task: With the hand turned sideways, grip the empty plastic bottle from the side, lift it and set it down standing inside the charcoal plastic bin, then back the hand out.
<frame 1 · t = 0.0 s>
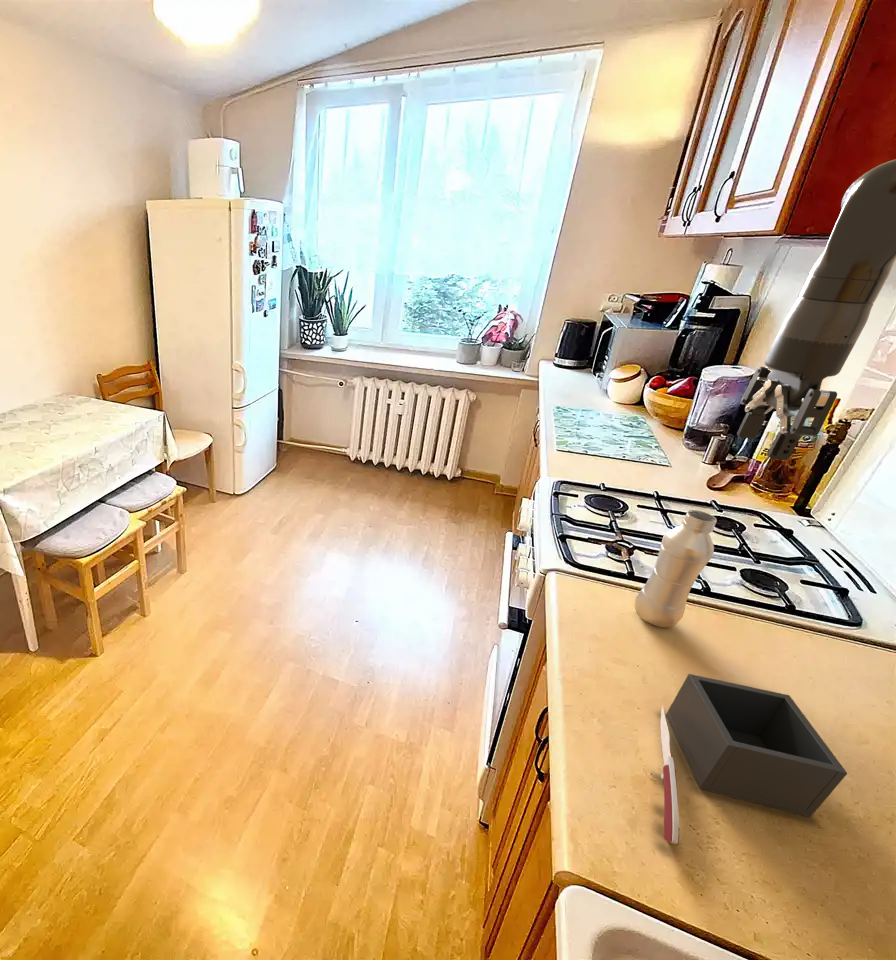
hand: (760, 447, 76), 30 cm above the worktop, tool pointing down, fingers open, 8 cm apart
plastic bottle: (652, 619, 87), on the worktop
bin: (731, 761, 64), on the worktop
knife: (661, 775, 62), on the worktop
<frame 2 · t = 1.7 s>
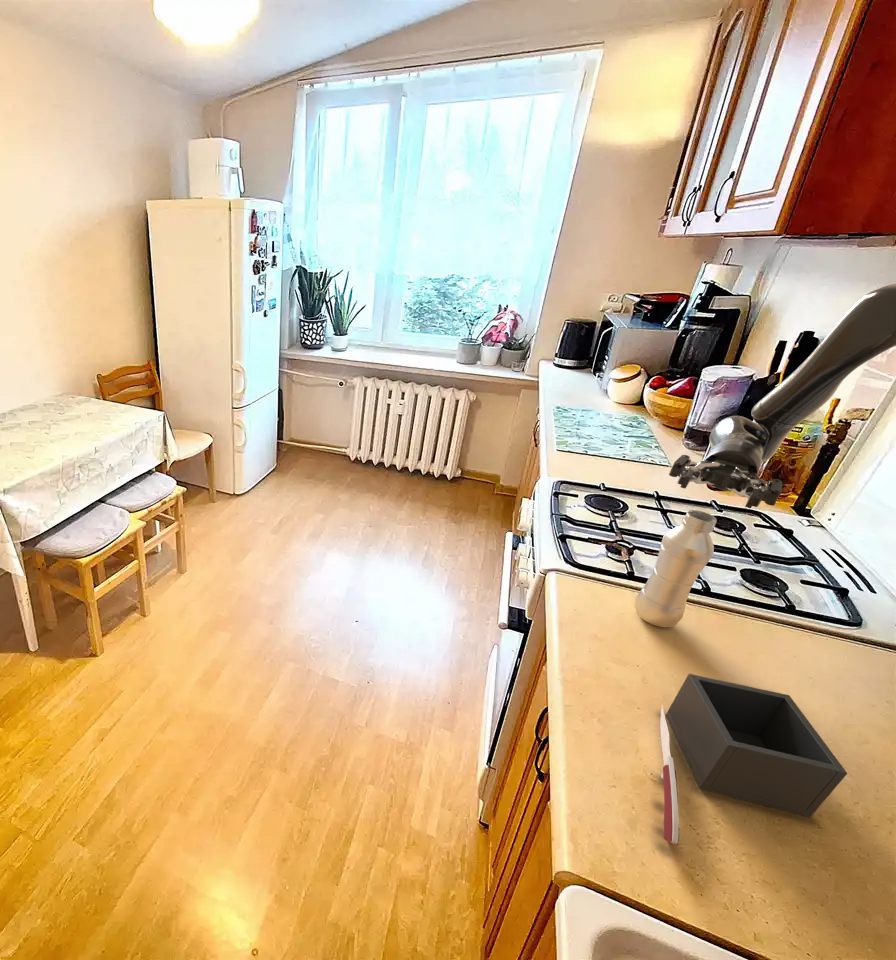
hand: (717, 492, 84), 20 cm above the worktop, tool horizontal, fingers open, 8 cm apart
nothing on the worktop moved.
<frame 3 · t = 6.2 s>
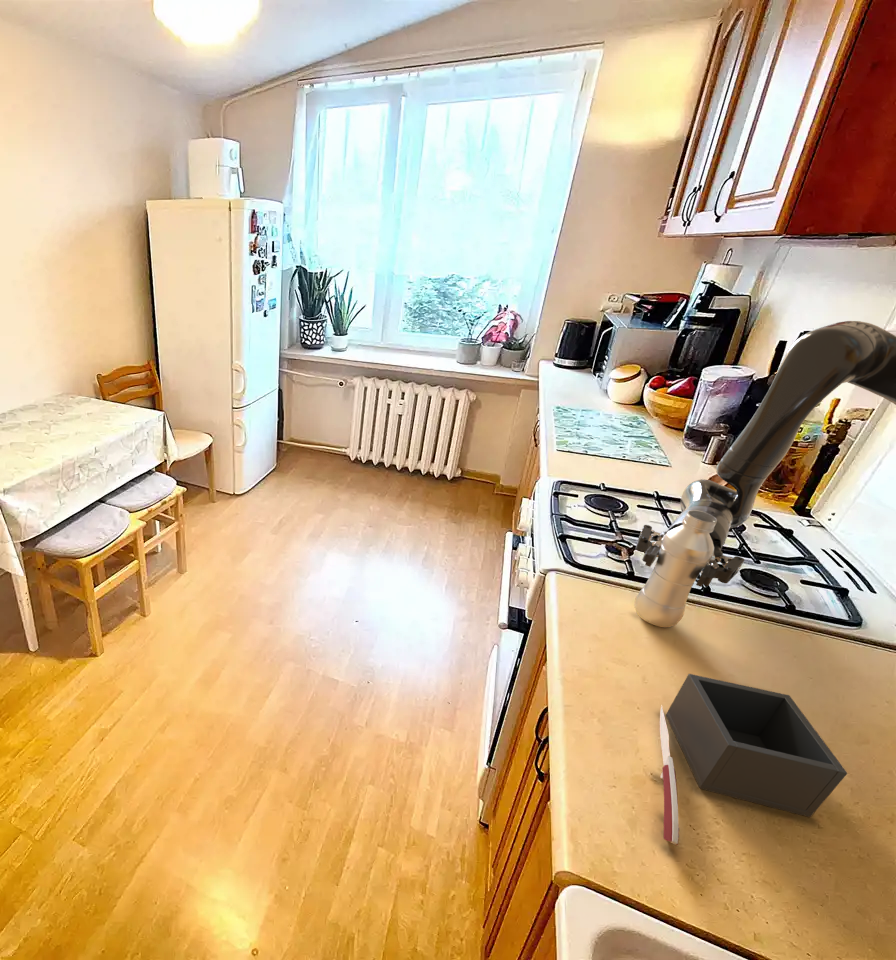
hand: (674, 570, 80), 11 cm above the worktop, tool horizontal, fingers closed on plastic bottle, 6 cm apart
plastic bottle: (652, 619, 87), on the worktop, touching gripper
everything else where it was.
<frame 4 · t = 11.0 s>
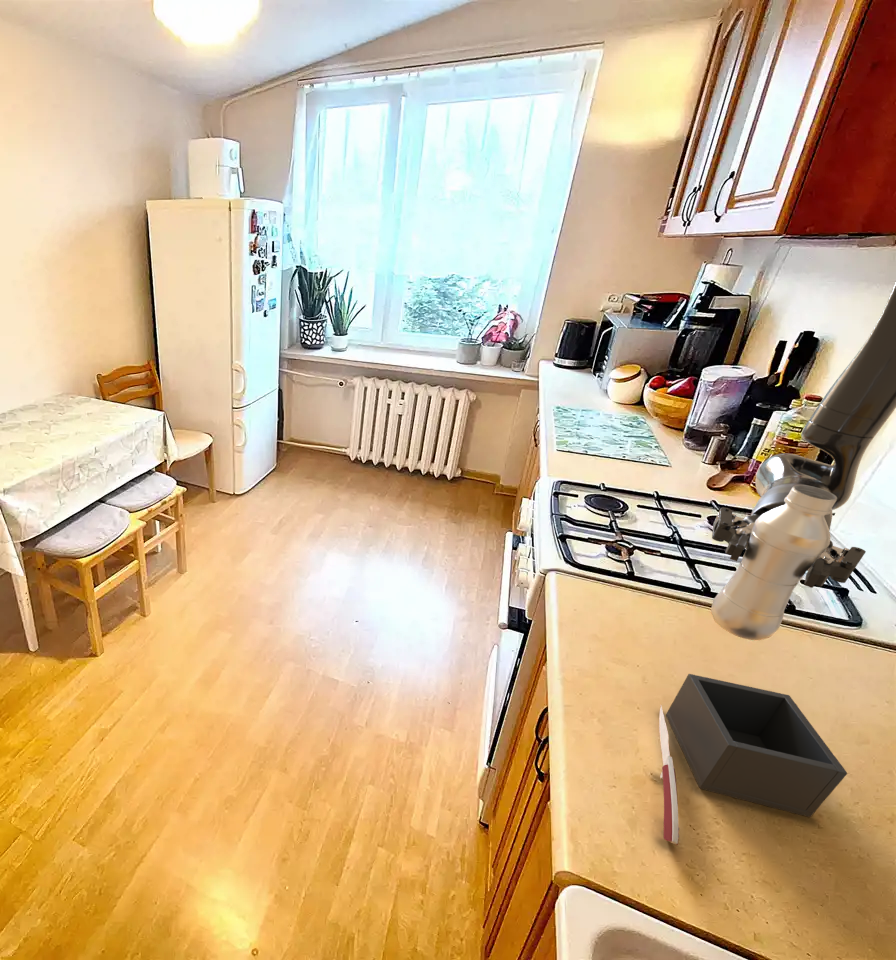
hand: (773, 566, 60), 24 cm above the worktop, tool horizontal, fingers closed on plastic bottle, 6 cm apart
plastic bottle: (735, 629, 67), point 12 cm above the worktop, touching gripper
everything else where it was.
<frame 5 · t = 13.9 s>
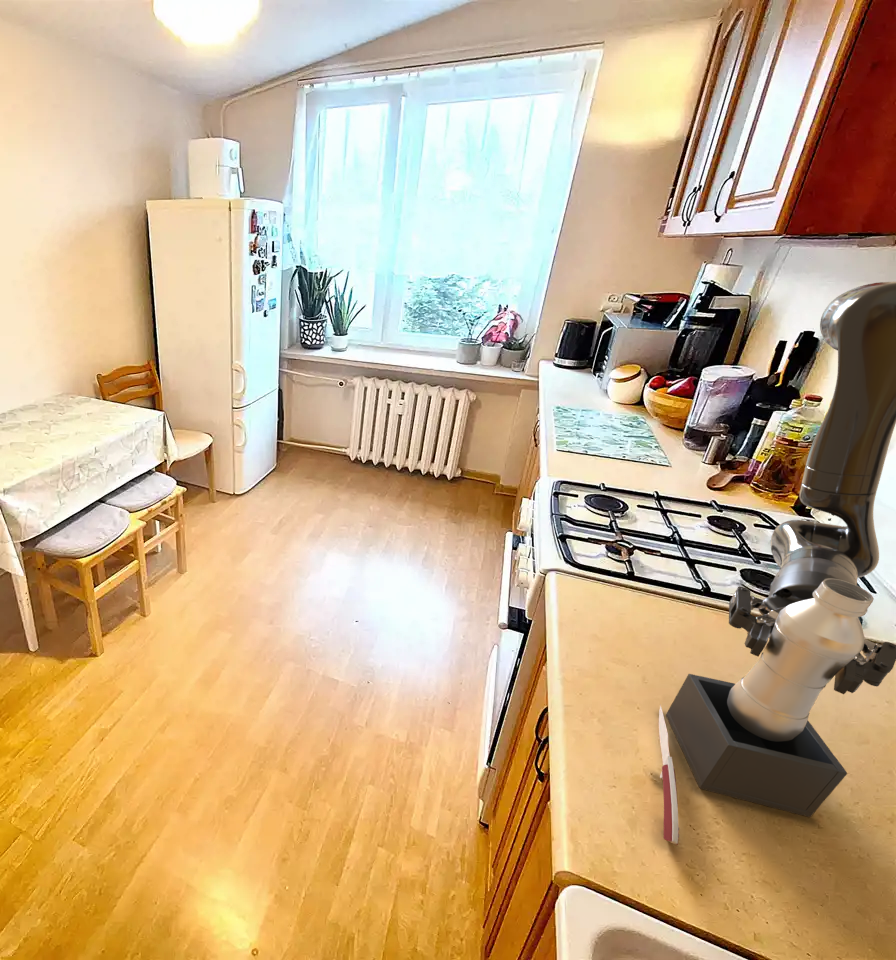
hand: (799, 666, 54), 18 cm above the worktop, tool horizontal, fingers closed on plastic bottle, 6 cm apart
plastic bottle: (754, 724, 61), point 7 cm above the worktop, touching gripper
everything else where it was.
when the fingers open (12 cm above the worktop, at t = 16.1 s): plastic bottle stays where it is, resting on bin.
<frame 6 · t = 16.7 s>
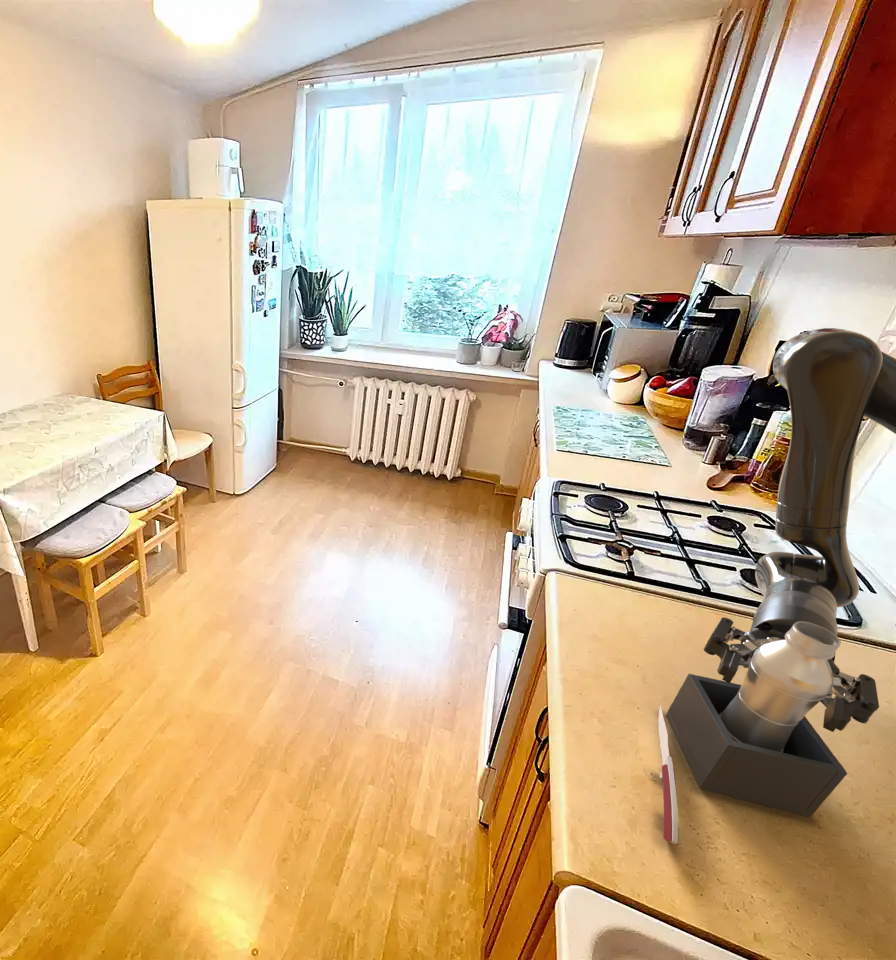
hand: (778, 699, 57), 13 cm above the worktop, tool horizontal, fingers open, 8 cm apart
plastic bottle: (732, 757, 64), point 1 cm above the worktop, touching bin
everything else where it was.
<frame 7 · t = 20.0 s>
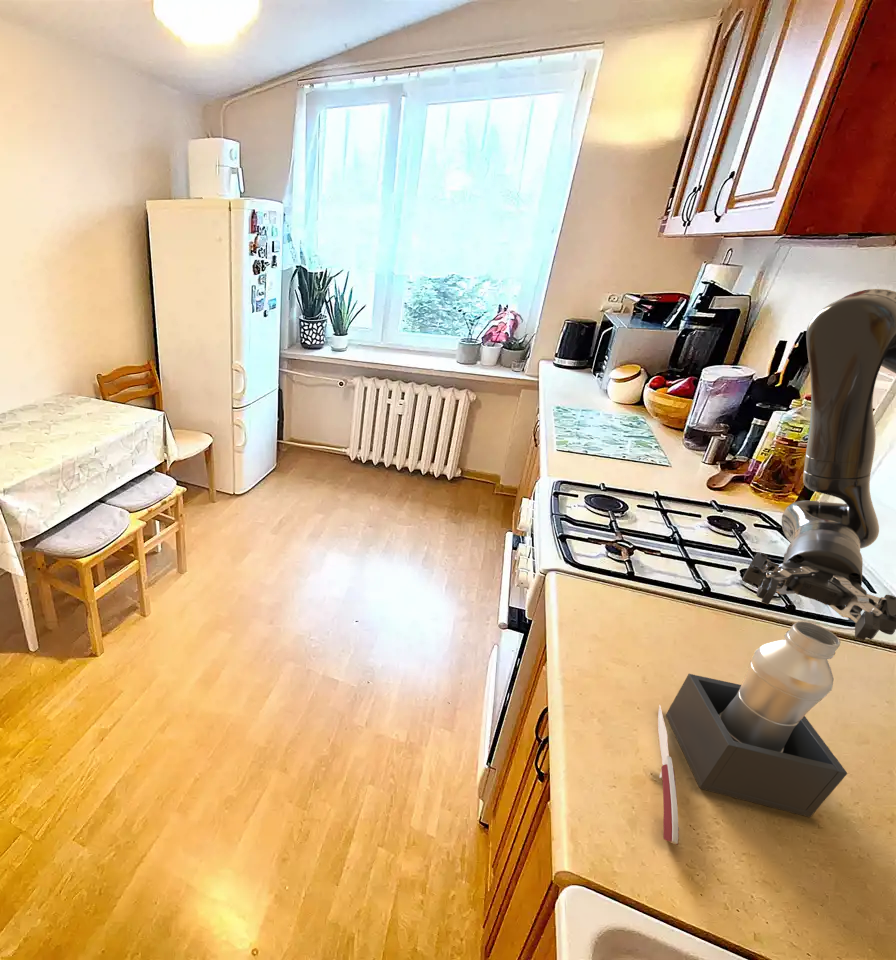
hand: (814, 615, 64), 16 cm above the worktop, tool horizontal, fingers open, 8 cm apart
nothing on the worktop moved.
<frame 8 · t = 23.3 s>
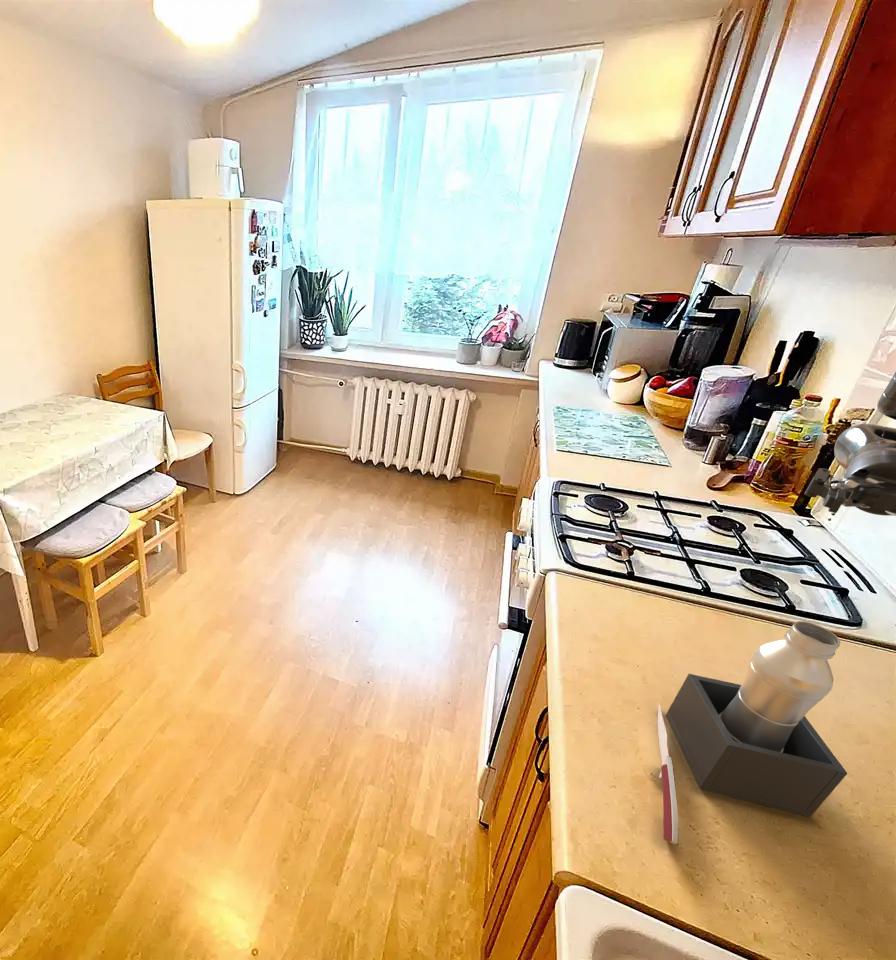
hand: (886, 519, 62), 28 cm above the worktop, tool horizontal, fingers open, 8 cm apart
nothing on the worktop moved.
at the end: plastic bottle inside the target area in the bin (0.1 cm from its centre), point 0.6 cm above the bin's base; the gripper is holding nothing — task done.
